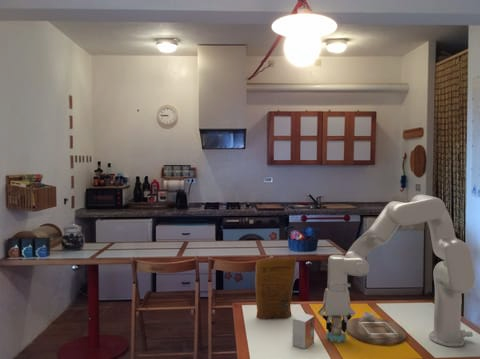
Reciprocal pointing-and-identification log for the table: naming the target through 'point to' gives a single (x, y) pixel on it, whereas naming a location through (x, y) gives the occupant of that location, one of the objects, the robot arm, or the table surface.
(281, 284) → the pancake mix bag
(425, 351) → the table surface
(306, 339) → the small box
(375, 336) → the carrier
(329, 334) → the gear
